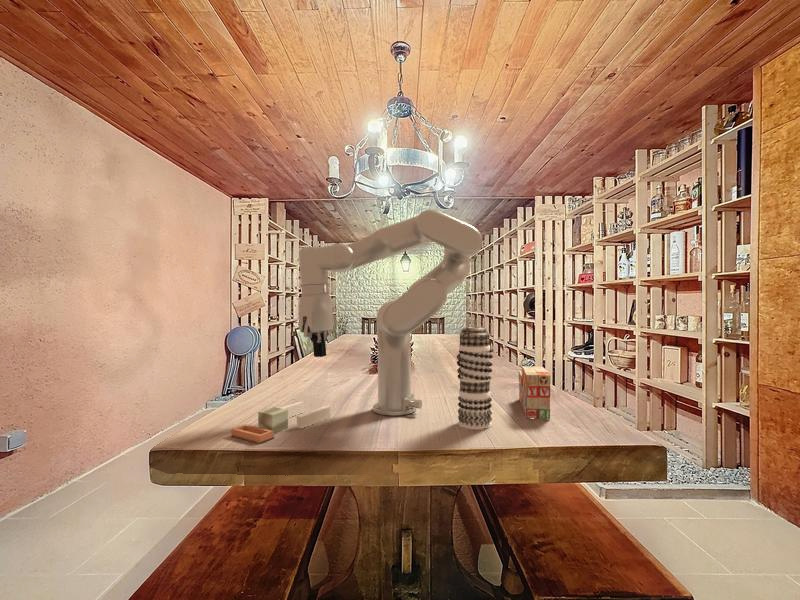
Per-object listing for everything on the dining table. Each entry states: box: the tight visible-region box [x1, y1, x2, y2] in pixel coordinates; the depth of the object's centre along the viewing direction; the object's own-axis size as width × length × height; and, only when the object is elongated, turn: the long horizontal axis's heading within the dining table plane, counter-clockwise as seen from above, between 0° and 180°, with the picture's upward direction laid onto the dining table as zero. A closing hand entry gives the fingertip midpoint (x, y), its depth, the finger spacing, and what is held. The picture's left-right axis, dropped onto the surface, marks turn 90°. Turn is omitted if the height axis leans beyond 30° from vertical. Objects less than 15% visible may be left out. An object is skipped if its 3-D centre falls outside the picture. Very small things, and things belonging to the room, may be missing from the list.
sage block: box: [257, 406, 289, 435], centre depth 105 cm, size 5×5×5 cm
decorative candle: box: [456, 326, 494, 430], centre depth 108 cm, size 9×9×25 cm
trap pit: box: [230, 424, 275, 445], centre depth 99 cm, size 10×4×2 cm, turn 59°
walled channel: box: [280, 401, 331, 430], centre depth 113 cm, size 11×11×3 cm
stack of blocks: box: [518, 365, 552, 420], centre depth 122 cm, size 21×6×12 cm, turn 169°
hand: (320, 356), depth 118 cm, fingers closed
